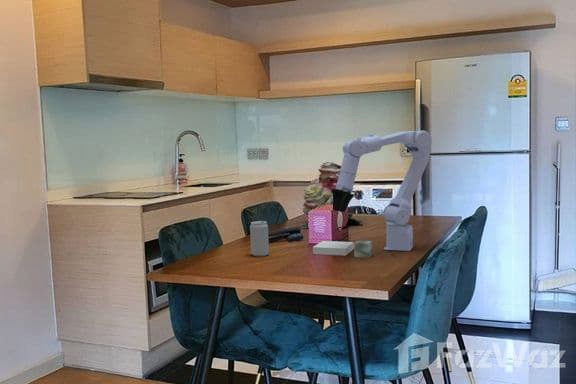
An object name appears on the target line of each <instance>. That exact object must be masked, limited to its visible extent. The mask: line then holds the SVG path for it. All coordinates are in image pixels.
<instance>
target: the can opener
mask: <svg viewBox="0 0 576 384" xmlns="http://www.w3.org/2000/svg"><path fill="white" fill-rule="evenodd" d="M301 231H302V230H301V228H300V226H296V227H295V226H294V227H284V228H280V229H278V230H273V231H268V241H269V244H271V243H275V242H278V241H283V240H286V241H288V242H290V243H292V242H294V241H296V242H300V241H301V240H303V239H304V237H305V236H304V235H303V234H302V233H301Z"/></svg>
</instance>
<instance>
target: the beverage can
mask: <svg viewBox="0 0 576 384" xmlns="http://www.w3.org/2000/svg"><path fill="white" fill-rule="evenodd" d="M249 231H250V254H251V255H253V257H266V256H268V254H269V253H270V246H269V244H270V243H269V241H268V238H269V237H268V233H269V225H268V221H266V220H264V221H263V220H257V221H255V220H254V221H251V222H250V225H249Z"/></svg>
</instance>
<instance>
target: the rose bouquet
mask: <svg viewBox="0 0 576 384" xmlns="http://www.w3.org/2000/svg"><path fill="white" fill-rule="evenodd" d="M319 167H320V168H318V169H317V170H318V172H319V175H318V178H315V179H312V180H311V181H310V183H309V184H307V188H305V189H304V194H303V199H304V200H305V201H304V203H303V205H302V207H303V208H302V212H303V213H304V214H305V215H307V216H308V212H309V211H310V210H312V209H315V208H317V207H320V206H322V205H326V204H333V195H332V189H336V186H335V185H333V184H334V183H335V184H337V182H338V178H339V174H340V169H341V165H339V164H338V163H335V162H334V161H330V162H329V161H325V162H322V164H320V165H319ZM336 190H337V189H336ZM344 190H345V189H344ZM351 193H353V194H357V193H358V191H356V190H352V192H351ZM354 214H355V213H354V212H350V213H348V214H347V215H348V222H349V223H348V224H352V225H362V226H363V225H364V224H363V221H361V220H359V219H357V218H355V217H354V216H353V215H354ZM353 217H354V218H353ZM308 223H309V222H304V223H300V224H299V228H300V227H306V228H307V229H308ZM348 226H349V227H351V225H348ZM349 227H348V228H349Z"/></svg>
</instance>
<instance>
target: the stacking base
mask: <svg viewBox="0 0 576 384" xmlns="http://www.w3.org/2000/svg"><path fill="white" fill-rule="evenodd" d="M354 243H355V242H354V241H333V240H332V241H330V240H322V241H321V242H319V243H317V244H315V245H314V246H312V254H313V255H325V256H326V255H327V256H328V255H329V256H347V255H348V254H349V253H351V252H352V251H353V250H354Z"/></svg>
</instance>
